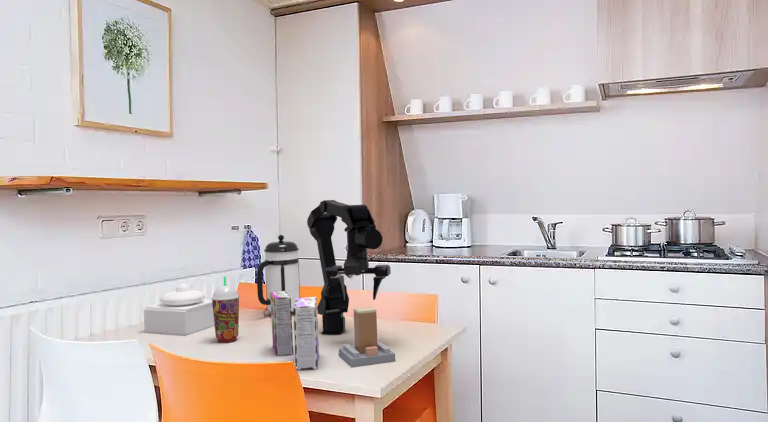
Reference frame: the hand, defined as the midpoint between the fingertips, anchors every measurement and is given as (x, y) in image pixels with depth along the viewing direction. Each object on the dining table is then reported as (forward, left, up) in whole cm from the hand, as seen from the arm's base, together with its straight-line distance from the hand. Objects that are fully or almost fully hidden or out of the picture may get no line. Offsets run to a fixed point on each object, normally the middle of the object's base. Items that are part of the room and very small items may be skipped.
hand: (358, 299), depth 175 cm
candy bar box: (-21, -9, -13) cm, 26 cm away
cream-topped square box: (+5, -15, -11) cm, 20 cm away
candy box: (-10, -20, -13) cm, 26 cm away
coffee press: (-39, +41, -13) cm, 58 cm away
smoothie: (-43, +2, -13) cm, 45 cm away
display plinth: (+5, -15, -13) cm, 21 cm away
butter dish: (-66, +18, -13) cm, 70 cm away
